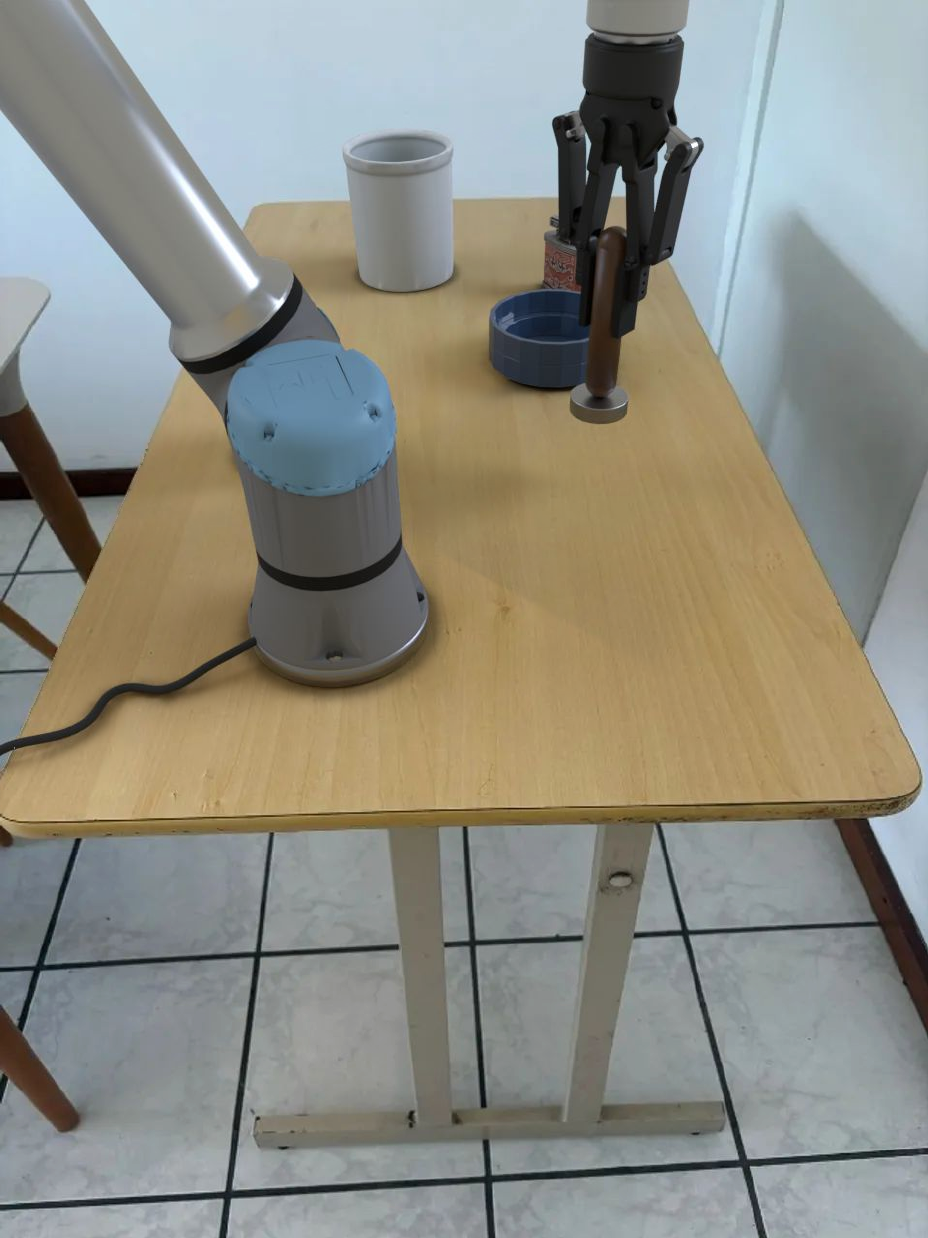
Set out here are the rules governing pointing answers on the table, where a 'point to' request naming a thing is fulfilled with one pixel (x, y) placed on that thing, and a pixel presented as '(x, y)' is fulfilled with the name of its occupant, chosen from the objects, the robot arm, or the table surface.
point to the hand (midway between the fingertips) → (606, 326)
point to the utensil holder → (401, 207)
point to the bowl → (539, 338)
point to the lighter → (559, 260)
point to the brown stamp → (603, 339)
